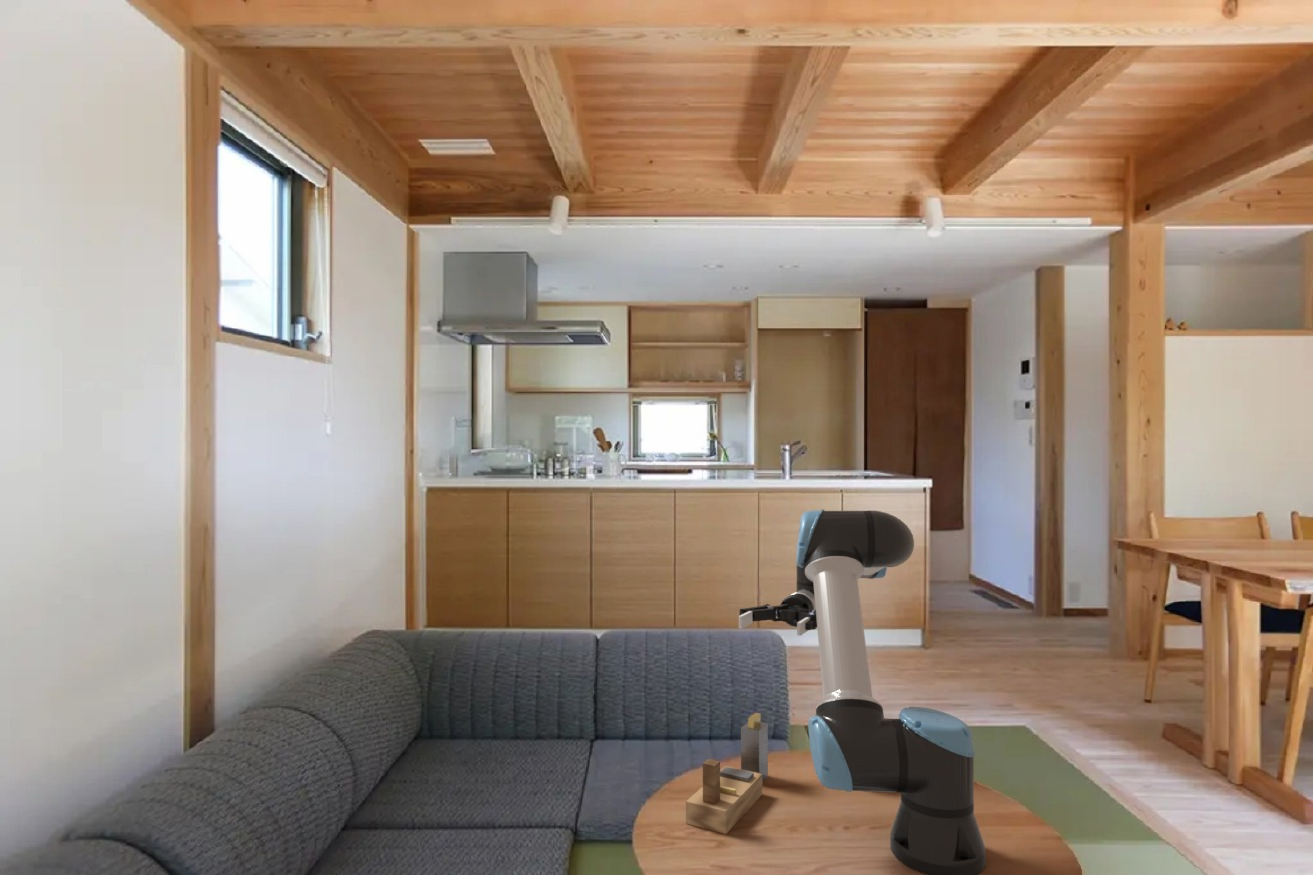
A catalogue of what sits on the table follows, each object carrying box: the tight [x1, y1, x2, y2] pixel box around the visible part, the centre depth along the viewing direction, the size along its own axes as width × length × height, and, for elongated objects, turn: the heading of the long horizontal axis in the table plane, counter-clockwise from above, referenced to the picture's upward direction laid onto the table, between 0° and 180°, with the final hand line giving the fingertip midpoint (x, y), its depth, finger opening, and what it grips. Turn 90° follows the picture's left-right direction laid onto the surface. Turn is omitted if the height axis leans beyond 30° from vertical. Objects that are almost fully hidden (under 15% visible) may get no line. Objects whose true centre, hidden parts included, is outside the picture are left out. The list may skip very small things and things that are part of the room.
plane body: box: [685, 758, 763, 835], centre depth 145 cm, size 8×18×11 cm, turn 151°
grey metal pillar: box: [740, 712, 769, 783], centre depth 158 cm, size 4×5×13 cm
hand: (768, 625), depth 166 cm, fingers open, 13 cm apart
